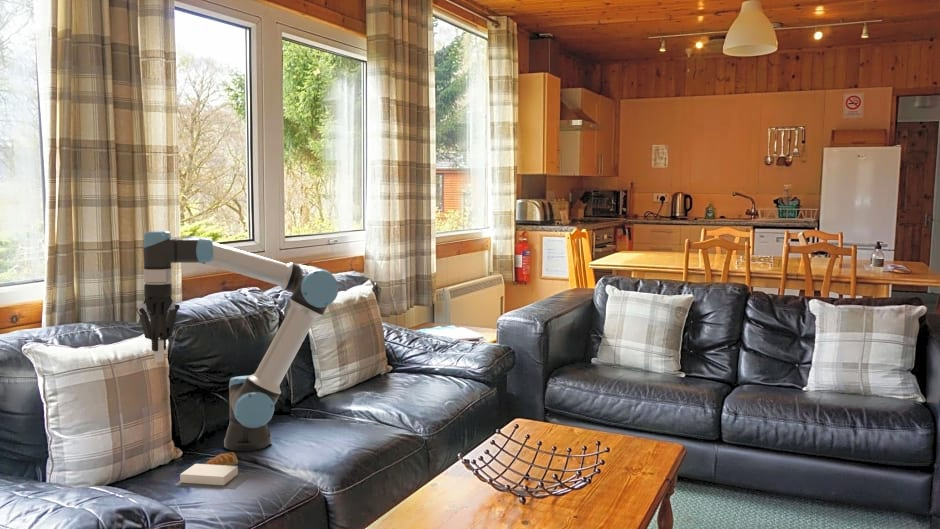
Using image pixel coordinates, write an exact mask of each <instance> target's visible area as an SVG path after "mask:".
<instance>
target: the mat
mask: <svg viewBox="0 0 940 529" xmlns="http://www.w3.org/2000/svg"><path fill="white" fill-rule="evenodd" d="M251 476H253V474H251V473H240V472H239V473H238V474H237V475H236V476H235V477H234V478H232V479H231V480H230V481H229V482H227V483H226V484H225V485H222V486H218V485H202V484H187V483H181V482H180V480H179V481H178V482H176V483H174V486H176V487H177V486H178V487H179V486H180V487H194V488H195V487H196V488H209V489H225V490H237V488H238V487H240V486H241V485H242V484H243V483H244V482H245V481H247V480H248V479H249V478H250V477H251Z"/></svg>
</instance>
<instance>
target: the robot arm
mask: <svg viewBox="0 0 940 529" xmlns="http://www.w3.org/2000/svg"><path fill="white" fill-rule="evenodd" d="M142 246H143V247H142V248H143V250H142V251H143V279H144V280H143V281H144V283H145V284H144V286H143V287H144V288H143V290H144V291H143V292H144V293H143V294H144V300H143V304H142V305H141V306H139V307H136V309H135V311H136V312H137V314H138V315H139V318H140V323H141V326H142V331H143V334H144V338H145V339H147V340H151V351H152V352H154V353H153V355H154V357H153V358H154V362H157V363H163V362H164V361H165V351H166V349H167V340H168V339H169V338H170V337H173V333H174V328H175V324H176V318H177V313H178V312H179V311H178V310H179V309H180V307H181V306H180V305H179V304H177V303H174V302H173V298H172V290H173V289H172V283H171V282H172V264H177V263H179V264H180V263H184V264H185V263H186V264H187V263H190V264H191V263H192V264H193V263H195V264H197V263H200V264H204V265H207V266H210V267H214V268H218V269H221V270H223V271H227V272H231V273H234V274H239V275H242V276H245V277H247V278H248V277H249V278H252V279H256V280H260V281H263V282H266V283H269V284H271V285H272V284H273V285H276V286H278V287H279V286H280V288H281V289H282V290H283V291H287V292H289V293H291V296H290V298H289V303H290V308H289V310H288V311H287V313H286V315H285V317H284V319H283V321H282V323H281V325H280V327H278V330H277V332H276V333H275V335H274V337H273V340H272V341H271V343H270V345H269V347H268V349H267V350H266V353H265V354H264V356H263V358H262V360H261V361H260V363H259V365H258V367H257V369H256V370H255V372H254V373H253V374H250V375H240V376H234V377H231V378H230V379H229V384H228V391H229V396H228V398H229V399H228V400H229V424H228V427H227V430H226V433H225V437H224V439H223V444H224V445H223V447H224V448H225V449H227V450H229V451H231V452H233V451H234V452H251V451H258V450H262V448H263V449H265V448H264V447H266V446H268V445H269V444H270V443H271V441H272V434H271V430H270V428H269V425H268V423H269V422H270V421H271V419H272V417H273V415H274V412H275V405H276V403H277V401H278V399H279V398H280V395H281V394H282V391H281V388H280V386H281V383H282V381H283V380H284V377H285V376H286V373H287V372H288V371H289V368H290V366H291V365H292V363H293V361H294V359H295V358H296V356H297V353H298V352H299V350H300V348H301V346H302V344H303V342H304V341H305V339H306V337H307V335H308V333H309V331H310V329H311V328H312V326H313V324H314V323H315V320H316V319H318V318H320V317H323V315H324V313H325V312H326V311H327V308H328V306H329V305H331V304H332V303H334V301H335V300H336V299H337V297H338V294H339V282H338V280H337V279H336V277H335V276H334V275H333V274H332V272H330V271H328V270H327V269H325V268H320V267H319V266H313V265H305V264H300V263H295V262H288V263H284V262H282V261H278V260H275V259H271V258H268V257H264V256H261V255H258V254H255V253H252V252H247V251H245V250H240V249H238V248H235V247H231V246H228V245H224V244H222V243H221V244H220V243H217V242H215V241H213V239H212V238H211V237H198V236H196V235H187V236H184V237H172V234H171V232H170V231H168V230H166V231H165V230H149V231H148V230H147V231H146V232H145V233H144V234H143V245H142ZM148 313H149V315H148ZM149 318H150V319H149ZM271 444H272V443H271ZM268 447H269V446H268ZM266 448H267V447H266Z"/></svg>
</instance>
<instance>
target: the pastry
mask: <svg viewBox="0 0 940 529" xmlns="http://www.w3.org/2000/svg"><path fill="white" fill-rule="evenodd" d="M205 464H210V465H226V466H236V465H238V464H239V460H238V457H237V455H236V453H235V452H233V451H231V452H230V451H228V452H226V453H222V454H221V453H220V454H218V455H216V456H215V457H212V458H210V459H209V460H206V462H205Z"/></svg>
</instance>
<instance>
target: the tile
mask: <svg viewBox="0 0 940 529" xmlns="http://www.w3.org/2000/svg"><path fill="white" fill-rule="evenodd" d="M238 467H239V466H238V465H231V466H226V465H210V464H206V463H194V464H193V465H191V466H190V467H189V468H187V469H186V470H184V471H183V472H181V473H180V474H179V478H180V479H179V481H180V482H181V483H187V484H202V485H218V486H222V485H225V484H226V483H227V482H229V481H230V480H231V479H232V478H234V477H235V476H236V475H237V474H238V472H239V468H238Z"/></svg>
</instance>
